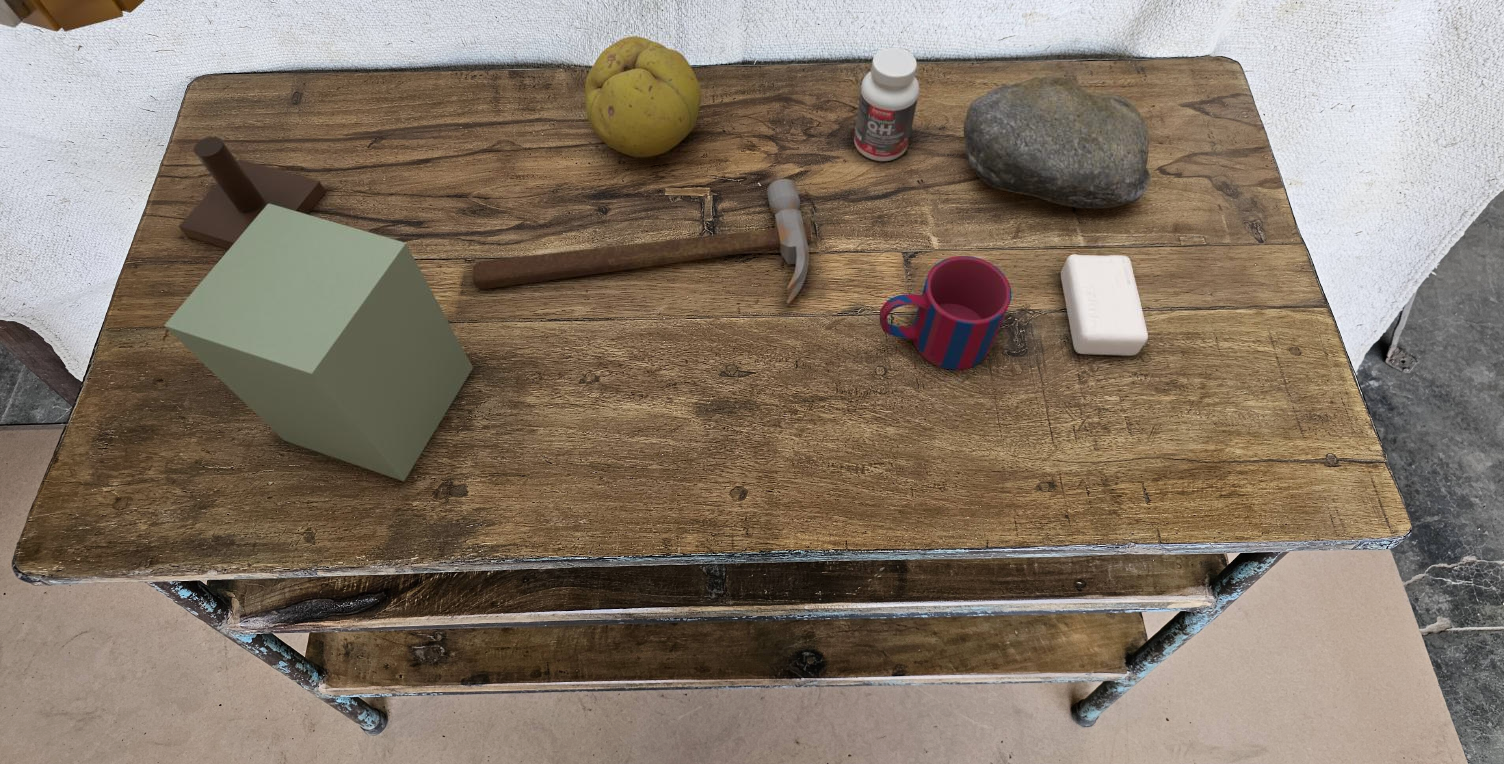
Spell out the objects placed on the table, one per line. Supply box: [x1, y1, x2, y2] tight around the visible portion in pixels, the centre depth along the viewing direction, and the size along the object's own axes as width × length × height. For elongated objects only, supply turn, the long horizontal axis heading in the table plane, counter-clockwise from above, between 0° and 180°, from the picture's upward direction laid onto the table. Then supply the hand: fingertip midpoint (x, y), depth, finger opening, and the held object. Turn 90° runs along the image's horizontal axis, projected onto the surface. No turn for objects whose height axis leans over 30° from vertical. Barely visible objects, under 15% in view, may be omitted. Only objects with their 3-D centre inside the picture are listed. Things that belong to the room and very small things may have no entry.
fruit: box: [584, 36, 702, 158], centre depth 80 cm, size 11×12×10 cm
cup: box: [879, 255, 1012, 371], centre depth 70 cm, size 7×10×7 cm
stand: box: [178, 136, 326, 250], centre depth 76 cm, size 9×9×8 cm
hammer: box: [472, 178, 812, 308], centre depth 75 cm, size 12×3×30 cm
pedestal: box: [164, 204, 474, 482], centre depth 62 cm, size 11×11×16 cm
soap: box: [1060, 253, 1149, 357], centre depth 72 cm, size 9×6×3 cm, turn 178°
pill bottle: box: [853, 47, 920, 162], centre depth 80 cm, size 5×5×10 cm
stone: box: [963, 75, 1151, 209], centre depth 78 cm, size 17×13×10 cm
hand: (32, 6), depth 56 cm, fingers closed
